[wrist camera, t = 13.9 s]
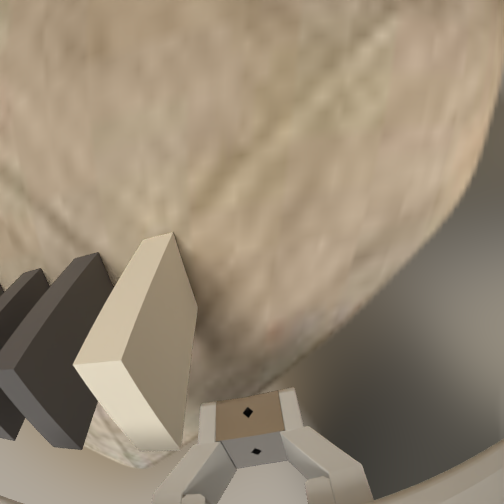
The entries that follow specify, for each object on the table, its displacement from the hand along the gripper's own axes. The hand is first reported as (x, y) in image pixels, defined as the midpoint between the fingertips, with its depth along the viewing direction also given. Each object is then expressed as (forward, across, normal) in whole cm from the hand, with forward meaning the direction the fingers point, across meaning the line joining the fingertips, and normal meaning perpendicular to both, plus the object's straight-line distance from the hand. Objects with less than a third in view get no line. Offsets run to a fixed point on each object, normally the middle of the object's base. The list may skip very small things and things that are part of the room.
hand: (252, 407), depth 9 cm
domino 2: (+10, +9, -1) cm, 13 cm away
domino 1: (+10, +4, -1) cm, 11 cm away
